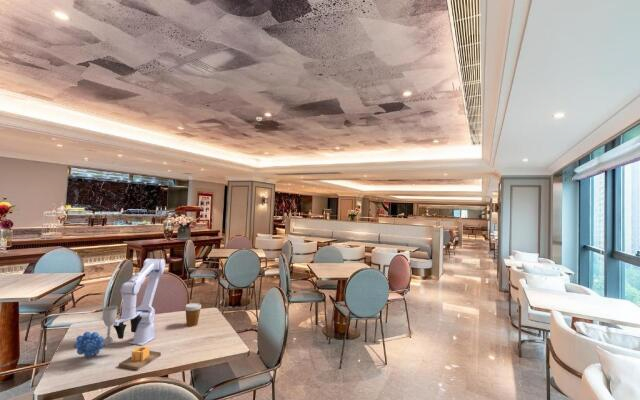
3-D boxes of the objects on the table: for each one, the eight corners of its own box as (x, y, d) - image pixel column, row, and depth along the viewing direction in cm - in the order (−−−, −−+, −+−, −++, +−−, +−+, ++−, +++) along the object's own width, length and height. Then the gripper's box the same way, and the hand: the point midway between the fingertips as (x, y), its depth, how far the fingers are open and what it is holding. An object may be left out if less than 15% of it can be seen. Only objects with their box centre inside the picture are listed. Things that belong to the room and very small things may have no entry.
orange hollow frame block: (138, 354, 142) (138, 346, 142) (149, 355, 142) (149, 346, 142) (131, 360, 137) (131, 351, 137) (142, 360, 137) (143, 352, 137)
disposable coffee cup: (184, 322, 187) (185, 303, 188) (201, 321, 190) (202, 302, 191) (182, 328, 178) (183, 308, 179) (199, 327, 181) (200, 307, 182)
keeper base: (143, 352, 147) (143, 341, 147) (160, 355, 145) (161, 344, 145) (118, 367, 134) (119, 354, 134) (137, 370, 132) (138, 358, 132)
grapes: (71, 364, 134) (73, 337, 135) (73, 357, 140) (75, 331, 140) (103, 357, 141) (105, 332, 141) (103, 351, 147) (105, 327, 147)
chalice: (107, 346, 152) (109, 310, 152) (96, 344, 153) (98, 309, 154) (119, 340, 159) (121, 306, 160) (108, 338, 160) (111, 305, 161)
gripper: (134, 301, 153) (132, 328, 153) (109, 311, 139) (107, 340, 139) (145, 303, 152) (144, 330, 151) (121, 312, 138) (119, 342, 137)
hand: (127, 335), depth 145 cm, fingers open, 7 cm apart
